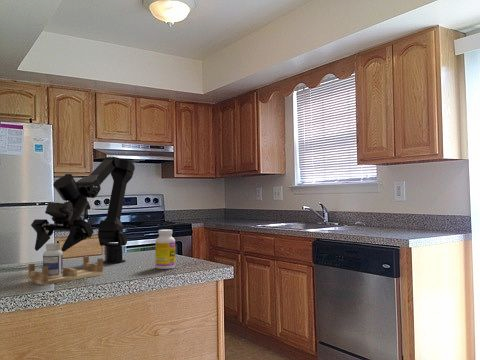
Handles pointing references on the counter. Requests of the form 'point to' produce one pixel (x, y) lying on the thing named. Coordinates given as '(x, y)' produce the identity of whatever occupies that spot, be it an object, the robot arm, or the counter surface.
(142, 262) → the counter surface
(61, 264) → the pill bottle
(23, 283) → the counter surface
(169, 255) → the supplement bottle
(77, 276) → the rack
